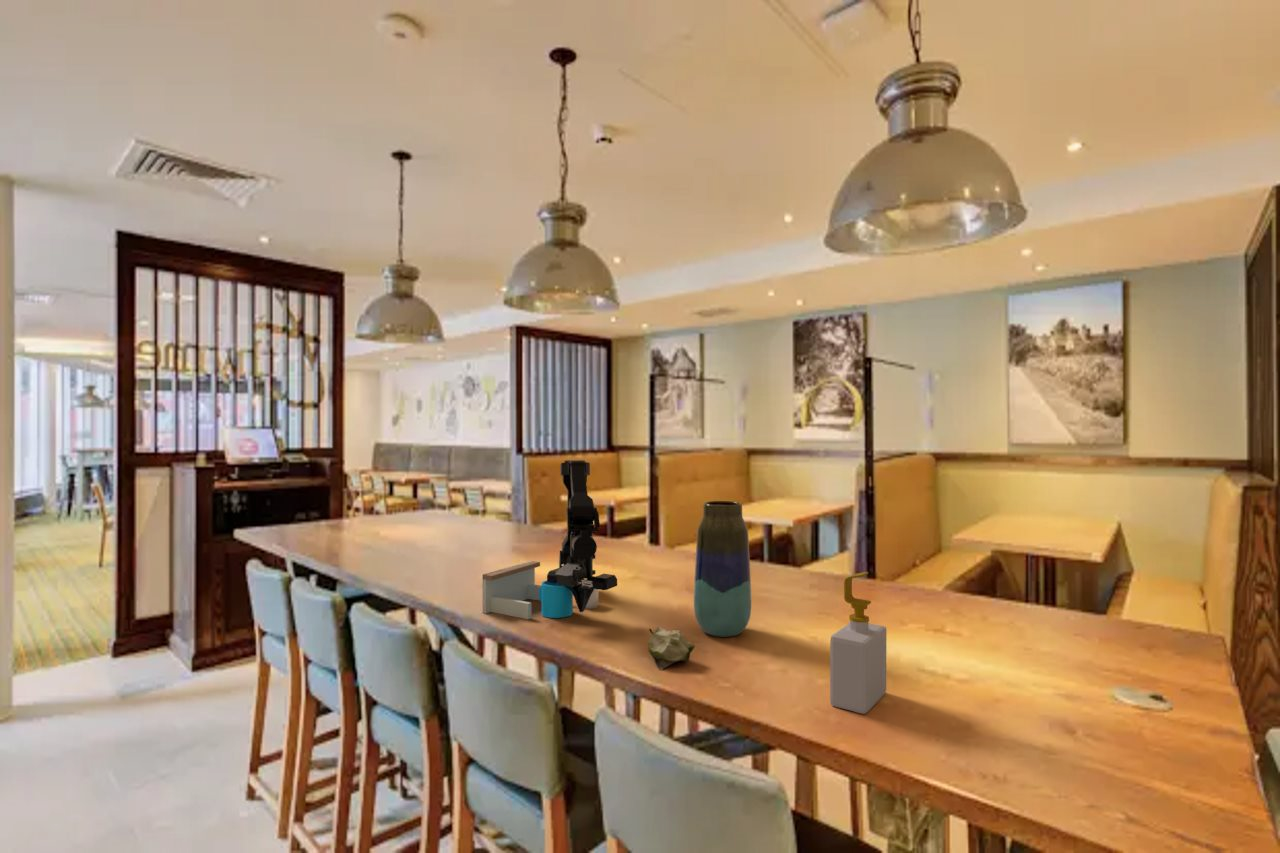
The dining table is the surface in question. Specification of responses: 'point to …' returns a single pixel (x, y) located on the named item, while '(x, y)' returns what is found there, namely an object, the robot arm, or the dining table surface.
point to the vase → (722, 570)
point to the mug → (556, 600)
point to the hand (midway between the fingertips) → (581, 611)
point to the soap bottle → (857, 658)
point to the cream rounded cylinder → (593, 600)
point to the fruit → (668, 647)
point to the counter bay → (511, 590)
